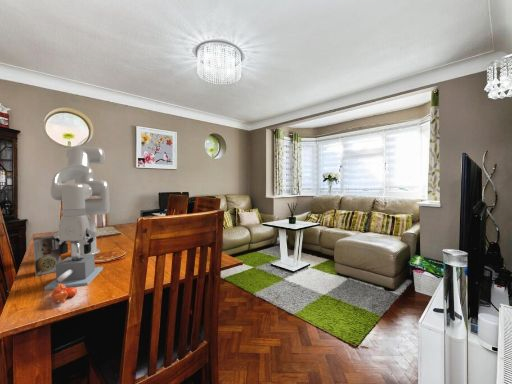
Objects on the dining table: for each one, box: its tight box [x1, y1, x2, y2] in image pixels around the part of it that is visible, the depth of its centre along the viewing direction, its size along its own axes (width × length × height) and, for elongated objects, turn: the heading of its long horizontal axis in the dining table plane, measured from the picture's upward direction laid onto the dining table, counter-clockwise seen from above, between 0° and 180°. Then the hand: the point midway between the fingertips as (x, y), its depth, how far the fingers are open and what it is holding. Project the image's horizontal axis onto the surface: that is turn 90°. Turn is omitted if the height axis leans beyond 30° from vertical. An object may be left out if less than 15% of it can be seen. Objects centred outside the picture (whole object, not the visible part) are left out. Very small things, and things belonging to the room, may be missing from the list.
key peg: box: [69, 241, 81, 262], centre depth 98 cm, size 3×3×12 cm
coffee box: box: [32, 234, 63, 277], centre depth 105 cm, size 9×6×16 cm
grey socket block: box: [44, 255, 104, 291], centre depth 96 cm, size 22×14×8 cm, turn 17°
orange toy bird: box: [50, 284, 78, 304], centre depth 81 cm, size 5×8×12 cm
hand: (75, 253), depth 98 cm, fingers open, 9 cm apart
